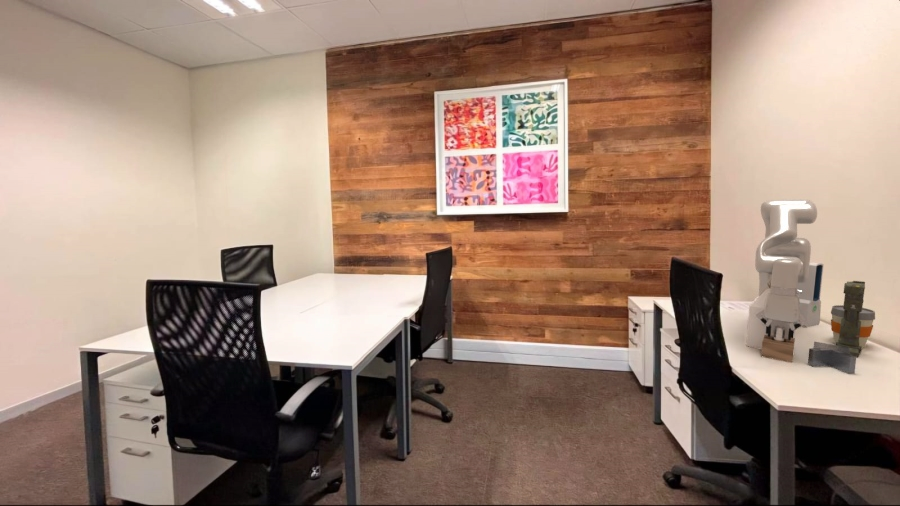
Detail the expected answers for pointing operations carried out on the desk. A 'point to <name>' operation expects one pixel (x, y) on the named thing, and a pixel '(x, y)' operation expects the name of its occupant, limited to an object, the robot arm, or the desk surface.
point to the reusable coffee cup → (864, 317)
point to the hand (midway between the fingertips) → (779, 337)
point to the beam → (778, 348)
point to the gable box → (756, 325)
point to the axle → (779, 333)
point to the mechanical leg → (852, 317)
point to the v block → (832, 357)
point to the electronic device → (811, 295)
